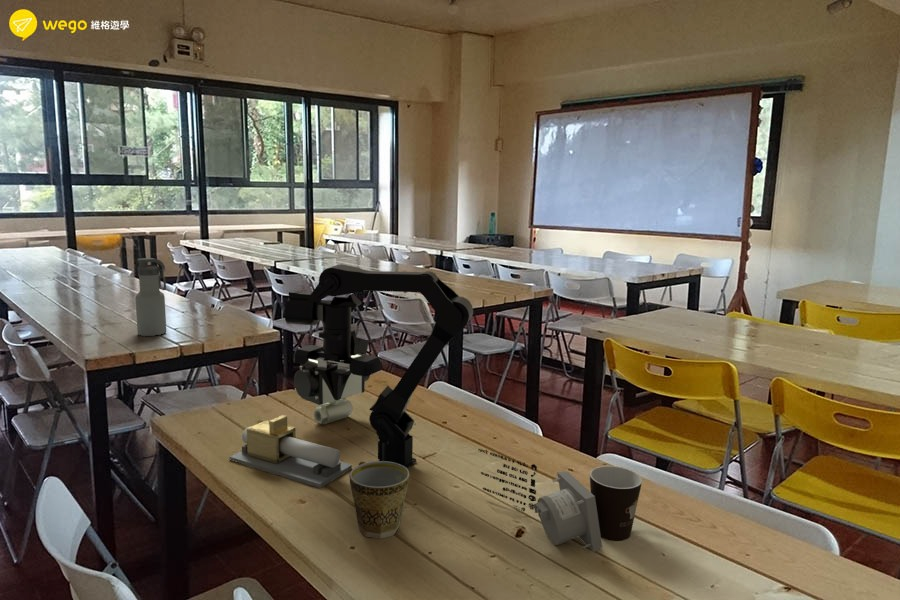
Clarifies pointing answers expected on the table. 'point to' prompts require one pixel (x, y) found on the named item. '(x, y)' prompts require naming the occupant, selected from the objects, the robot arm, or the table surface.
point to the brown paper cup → (615, 500)
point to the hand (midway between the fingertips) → (337, 399)
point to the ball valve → (327, 392)
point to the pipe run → (299, 461)
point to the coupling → (268, 439)
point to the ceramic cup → (379, 496)
